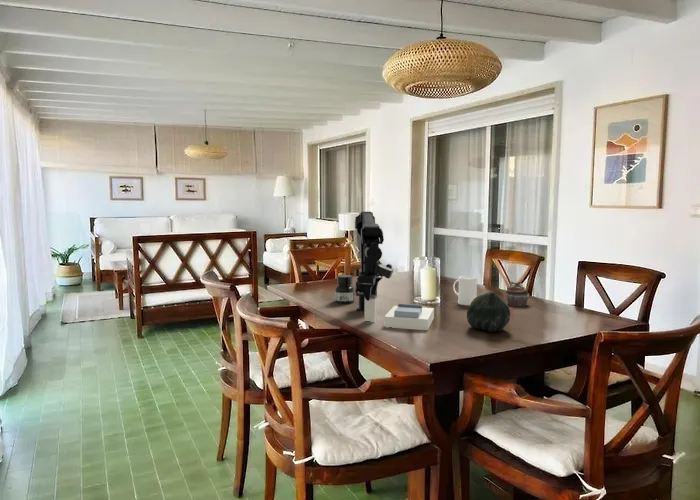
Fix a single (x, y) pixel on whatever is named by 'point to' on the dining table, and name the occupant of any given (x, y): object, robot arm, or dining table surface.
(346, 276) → the ink bottle
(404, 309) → the panel
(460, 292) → the mug
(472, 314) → the squash
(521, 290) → the cupcake
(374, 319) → the peg
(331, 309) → the dining table surface
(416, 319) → the socket block
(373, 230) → the robot arm
